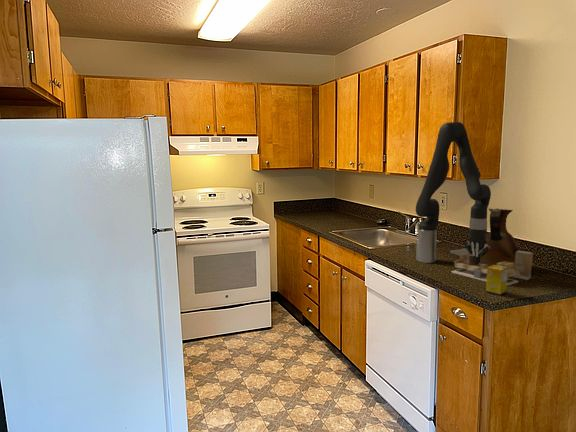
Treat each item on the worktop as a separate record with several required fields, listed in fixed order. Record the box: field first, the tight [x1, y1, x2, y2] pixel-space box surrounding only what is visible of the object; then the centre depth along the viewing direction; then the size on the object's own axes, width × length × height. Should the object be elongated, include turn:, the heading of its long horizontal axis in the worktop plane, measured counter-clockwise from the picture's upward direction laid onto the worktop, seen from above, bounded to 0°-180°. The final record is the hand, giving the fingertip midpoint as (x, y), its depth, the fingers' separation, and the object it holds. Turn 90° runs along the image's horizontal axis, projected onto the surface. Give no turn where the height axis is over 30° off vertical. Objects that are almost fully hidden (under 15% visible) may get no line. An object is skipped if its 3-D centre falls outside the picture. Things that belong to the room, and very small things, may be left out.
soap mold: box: [449, 247, 469, 257], centre depth 241 cm, size 10×20×4 cm, turn 14°
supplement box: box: [485, 265, 508, 297], centre depth 178 cm, size 6×6×11 cm
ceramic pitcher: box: [480, 208, 521, 267], centre depth 215 cm, size 20×20×30 cm
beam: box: [453, 259, 516, 279], centre depth 200 cm, size 26×7×6 cm, turn 33°
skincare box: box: [512, 250, 534, 281], centre depth 198 cm, size 6×4×12 cm
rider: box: [459, 253, 474, 266], centre depth 207 cm, size 5×4×5 cm
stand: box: [450, 268, 519, 286], centre depth 200 cm, size 27×10×4 cm, turn 33°
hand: (476, 263), depth 203 cm, fingers closed
